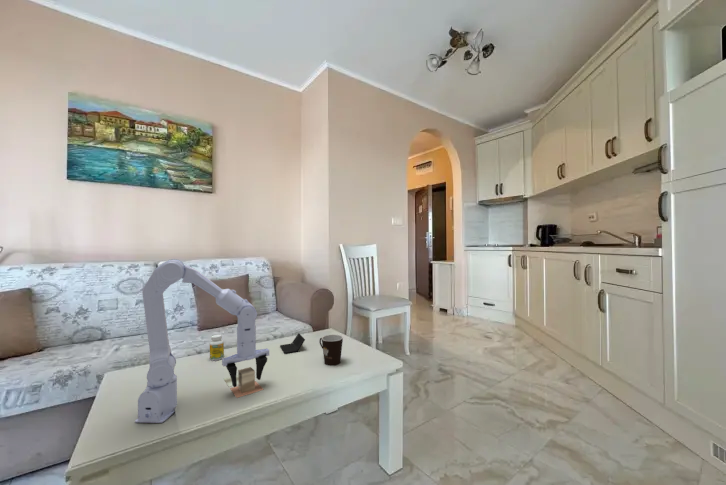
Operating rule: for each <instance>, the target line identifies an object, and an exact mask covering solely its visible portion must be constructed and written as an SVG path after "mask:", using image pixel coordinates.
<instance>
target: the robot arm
mask: <svg viewBox="0 0 726 485" xmlns="http://www.w3.org/2000/svg"><path fill="white" fill-rule="evenodd" d="M181 279H182V281H181V283H183V284H184V283H186V284H194V285H195V286H196V287H199V289H201V290H203V291H205V292H206V293H207V294H209V295H211V296H212V297H214V298H215V304H216V305H217V306H219V307H220V308H221V309H223V310H225V311H226V312H228V313H229V314H231V315H232V316H236V318H237V327H236V354H232V355H229V356H226V357H223V358H222V359H221V365H222V366H223V367H225V368H226V369H227V371H228V374H229V377H231V380H232V385H233V386H232V387H237V381H236V375H237V374H238V372H237V371H238V367H237V365H236V364H237V363H239V362H240V363H241V362H245V361H250V360H254V359H255V366H256V368H255V369H256V370H255V371H256V372H255V378H256V379H257V380H258V381H261V378H262V374H263V371H264V368H265V366H266V363H267V362H268V356H270V349H269V348H261V349H257V346H256V345H257V344H256V343H257V341H256V340H257V339H256V338H257V337H256V336H257V333H256V331H257V330H256V328H257V327H256V319H257V317H258V312H257V310H256V308H255V306H254V305H253V304H252V303H251V302H249V300H248V299H247V298H243V297H241V296H240V295H239V294H237V290H235V289H230V288H225V289H224V288H221V287H220V286H218V285H217V284H216V283H215V282H213V281H212V280H210V278H208V277H207V276H205V275H204V274H202V273H201V272H200V271H199V270H197V269H195V268H193V267H191V265H189V264H184V262H183V261H181V260H179V259H175V258H174V259H168V260H166V261H164V262H162V263H161V264H159V266H157V267H156V268H155V269H153V271H152V273H151V275H150V277H149V278H148V279H147V281H146V283H145V284H144V286H143V288H142V293H141V294H142V299H143V310H144V314H145V324H146V332H147V340H148V349H149V357H148V358H149V360H148V364H149V368H148V371H147V373H146V387H145V389H144V390H143V392H142V393H140V395H139V396H138V398H137V418H136V419H135V420H134V423H152V424H153V423H157V424H161V423H164V422H165V421H166V420H168V419H169V418H170V417H172V415H174V414H175V413H176V408H177V407H178V376H177V374H176V373H175V366H176V364H177V359H176V357H175V355H174V354H173V353H172V349H171V345H170V340H169V333H168V322H167V317H166V316H167V315H166V309H165V301H164V300H165V298H164V293H165V292H166V290H167V289H168V288H169V287H170V286H172V285H174V284H175V283H177V282H178V281H180V280H181Z"/></svg>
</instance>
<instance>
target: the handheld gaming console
mask: <svg viewBox="0 0 726 485" xmlns="http://www.w3.org/2000/svg"><path fill="white" fill-rule="evenodd" d="M305 341H306V339H305V338H304V337H303V336H302V335H301V333H300V332H298V333H297V335H295V338H294V339H293V341H292V342H290V343H287V344H280V345H279V348H280V349H281V351H282V352H283V354H284V355H291V354H297V353H299V350H300V348H301V347H302V345H303V344H304V343H305Z"/></svg>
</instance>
